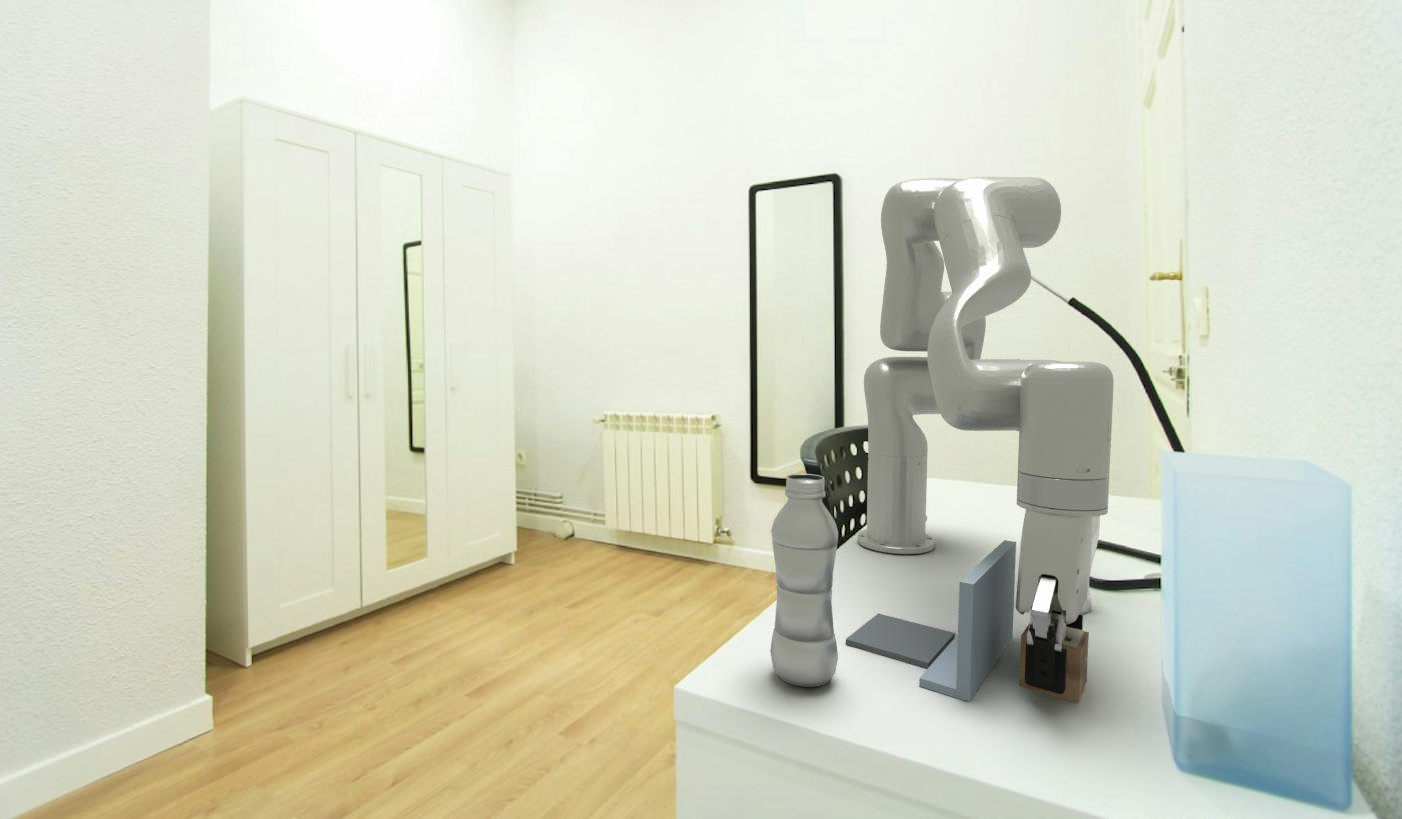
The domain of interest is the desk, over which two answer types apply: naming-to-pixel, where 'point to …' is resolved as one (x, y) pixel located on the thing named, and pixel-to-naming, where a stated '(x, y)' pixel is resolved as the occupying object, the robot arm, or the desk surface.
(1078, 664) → the letter cube
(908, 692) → the desk surface
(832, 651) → the plastic bottle
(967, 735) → the desk surface
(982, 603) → the screen
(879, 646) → the mat
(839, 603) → the desk surface
